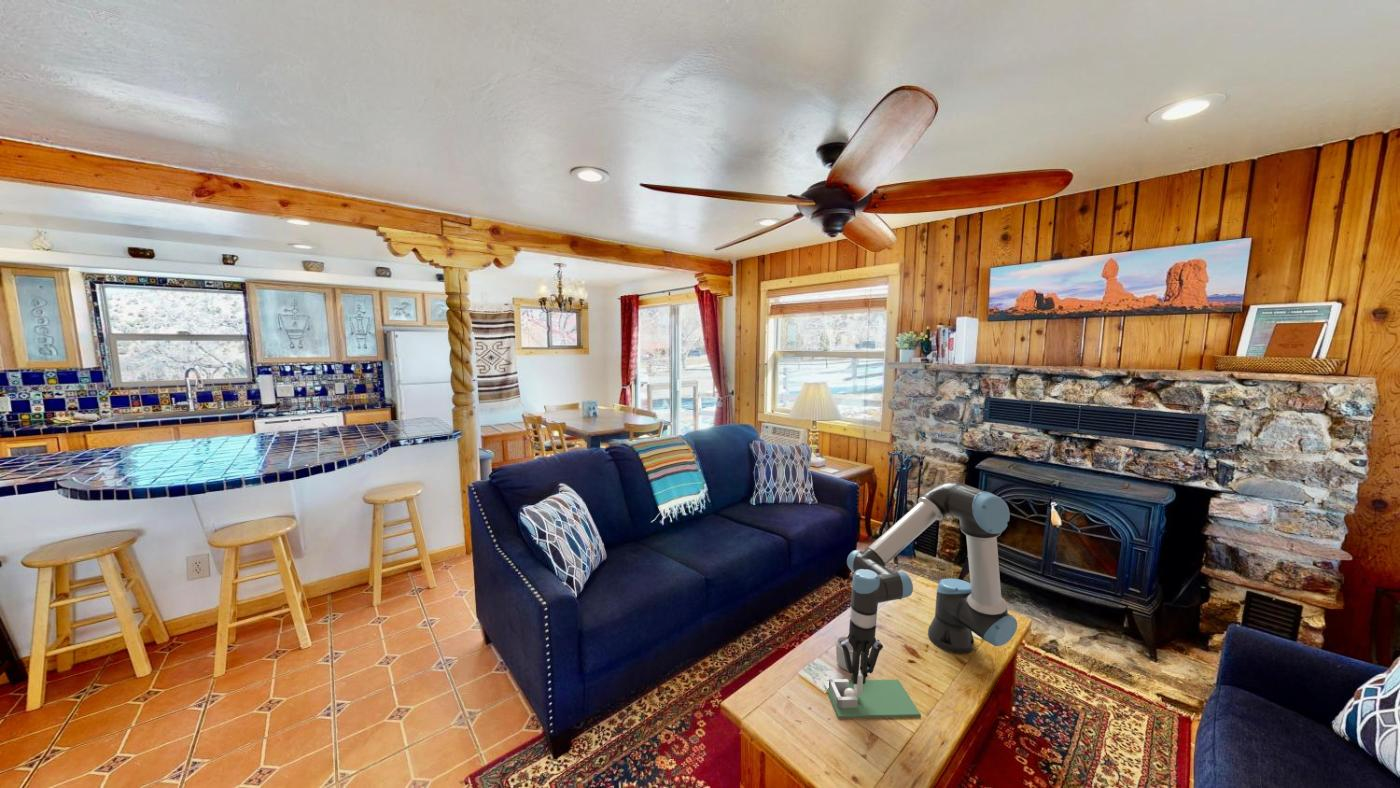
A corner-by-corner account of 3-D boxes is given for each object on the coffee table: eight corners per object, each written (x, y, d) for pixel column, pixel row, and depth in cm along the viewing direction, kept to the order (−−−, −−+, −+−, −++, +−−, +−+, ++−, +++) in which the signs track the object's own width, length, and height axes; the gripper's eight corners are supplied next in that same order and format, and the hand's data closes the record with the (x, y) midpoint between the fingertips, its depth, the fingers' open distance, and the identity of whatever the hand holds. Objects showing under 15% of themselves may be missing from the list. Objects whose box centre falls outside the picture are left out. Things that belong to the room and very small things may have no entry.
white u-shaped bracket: (846, 689, 146) (847, 679, 146) (857, 710, 138) (857, 699, 138) (828, 689, 146) (829, 679, 146) (837, 710, 138) (838, 700, 137)
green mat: (898, 681, 150) (898, 679, 150) (920, 716, 136) (920, 714, 136) (823, 682, 149) (823, 680, 149) (838, 718, 135) (838, 715, 135)
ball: (849, 682, 143) (839, 689, 143) (853, 691, 140) (844, 698, 140) (855, 690, 144) (846, 697, 144) (860, 699, 140) (850, 706, 140)
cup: (861, 681, 150) (863, 658, 149) (836, 677, 151) (837, 655, 150) (857, 659, 160) (858, 638, 159) (833, 655, 162) (835, 634, 161)
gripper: (878, 613, 143) (873, 682, 146) (837, 614, 143) (833, 683, 145) (889, 629, 136) (883, 701, 139) (846, 629, 135) (841, 702, 138)
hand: (857, 692), depth 142 cm, fingers closed
